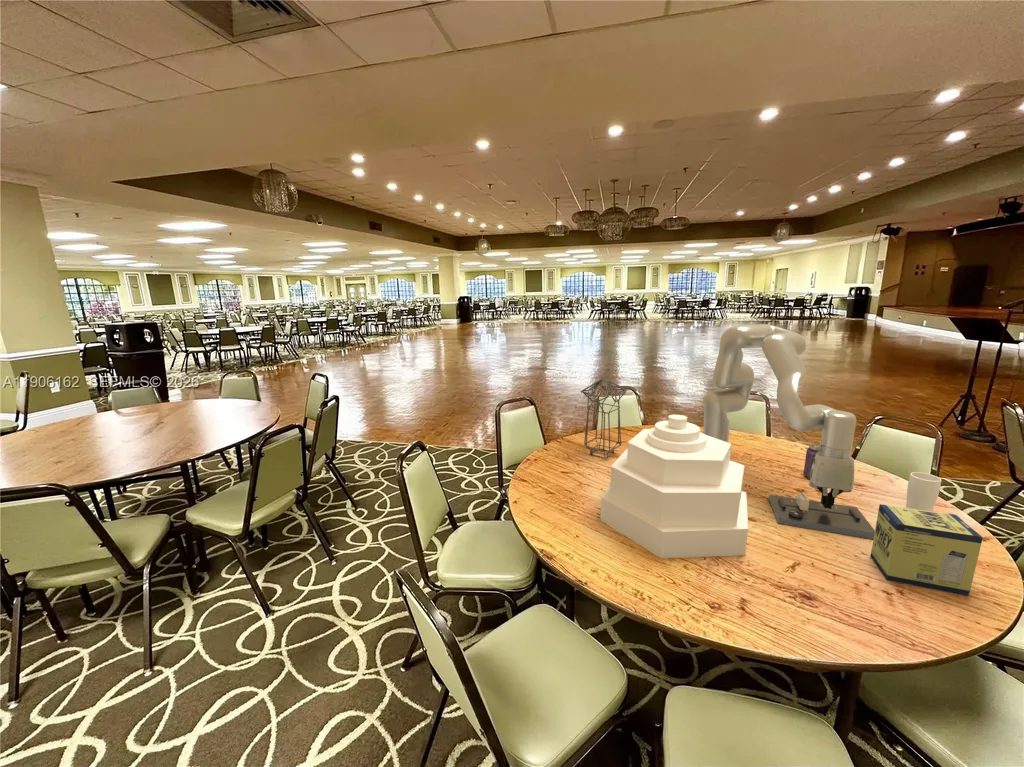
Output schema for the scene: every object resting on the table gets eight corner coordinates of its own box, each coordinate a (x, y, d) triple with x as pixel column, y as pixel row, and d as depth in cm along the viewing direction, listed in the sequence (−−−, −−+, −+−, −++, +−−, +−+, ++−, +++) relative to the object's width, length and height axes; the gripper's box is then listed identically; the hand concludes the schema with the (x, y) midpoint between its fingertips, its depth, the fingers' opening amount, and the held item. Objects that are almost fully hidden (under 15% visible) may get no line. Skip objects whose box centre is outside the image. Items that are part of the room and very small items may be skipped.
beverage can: (818, 473, 160) (822, 444, 158) (830, 482, 153) (835, 451, 151) (799, 473, 161) (803, 444, 158) (810, 481, 154) (814, 451, 151)
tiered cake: (641, 475, 162) (646, 393, 155) (772, 517, 130) (785, 416, 123) (573, 518, 132) (575, 418, 125) (722, 586, 100) (735, 457, 93)
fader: (800, 509, 130) (801, 499, 129) (796, 502, 134) (797, 492, 133) (807, 510, 129) (809, 500, 128) (803, 503, 133) (805, 493, 133)
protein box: (868, 556, 110) (878, 503, 107) (945, 569, 104) (958, 514, 101) (885, 580, 101) (896, 523, 98) (970, 597, 95) (985, 536, 92)
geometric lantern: (626, 453, 184) (629, 377, 176) (608, 465, 173) (611, 384, 165) (595, 444, 195) (597, 372, 186) (576, 455, 184) (578, 379, 175)
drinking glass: (923, 518, 128) (933, 473, 125) (937, 529, 122) (947, 482, 119) (896, 514, 130) (905, 470, 127) (908, 525, 124) (918, 479, 121)
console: (777, 523, 126) (779, 513, 126) (768, 499, 141) (769, 491, 140) (876, 539, 117) (878, 529, 117) (855, 512, 132) (857, 503, 131)
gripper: (808, 452, 124) (801, 507, 128) (870, 459, 119) (860, 517, 122) (802, 444, 131) (795, 497, 135) (861, 450, 125) (852, 505, 129)
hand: (826, 506), depth 129 cm, fingers closed
